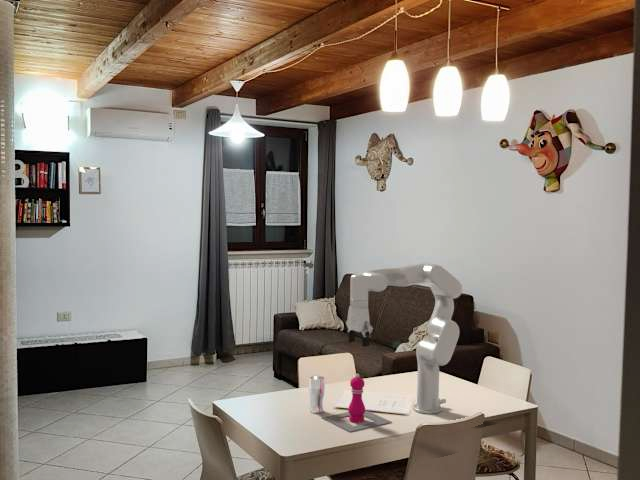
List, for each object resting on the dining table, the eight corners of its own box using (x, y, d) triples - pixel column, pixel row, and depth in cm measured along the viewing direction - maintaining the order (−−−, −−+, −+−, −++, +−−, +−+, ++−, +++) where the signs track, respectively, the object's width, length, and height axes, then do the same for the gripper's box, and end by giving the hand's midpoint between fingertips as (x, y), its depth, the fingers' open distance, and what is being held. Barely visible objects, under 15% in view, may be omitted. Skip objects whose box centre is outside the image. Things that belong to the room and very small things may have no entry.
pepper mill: (363, 423, 268) (364, 376, 267) (346, 422, 270) (347, 375, 268) (366, 418, 275) (367, 372, 274) (349, 416, 277) (350, 370, 276)
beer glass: (327, 410, 285) (327, 377, 284) (319, 414, 279) (319, 380, 278) (314, 407, 288) (314, 374, 287) (305, 411, 282) (306, 378, 281)
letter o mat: (362, 409, 286) (362, 408, 286) (391, 422, 270) (391, 421, 270) (321, 418, 274) (321, 417, 274) (349, 432, 258) (349, 431, 258)
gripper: (339, 301, 274) (339, 341, 275) (364, 307, 260) (364, 349, 261) (353, 300, 279) (353, 339, 280) (379, 305, 264) (378, 346, 265)
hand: (358, 344), depth 270 cm, fingers open, 9 cm apart
